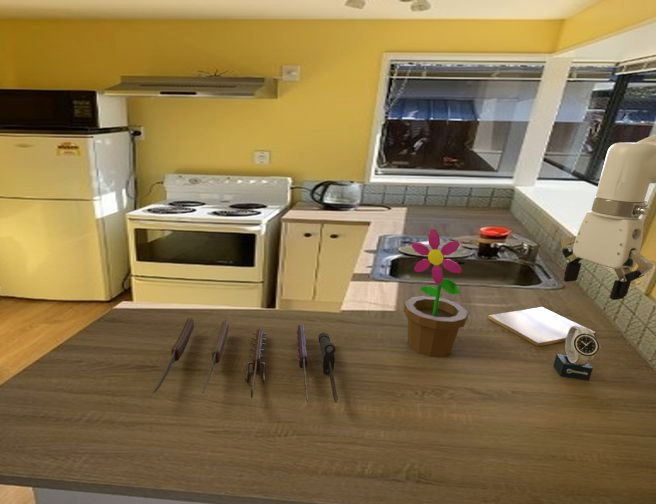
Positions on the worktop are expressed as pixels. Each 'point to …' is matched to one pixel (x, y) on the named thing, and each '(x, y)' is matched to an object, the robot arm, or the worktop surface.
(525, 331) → the board
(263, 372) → the knife set
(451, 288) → the flowerpot
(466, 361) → the worktop surface
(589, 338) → the watch
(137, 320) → the worktop surface
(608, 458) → the worktop surface
